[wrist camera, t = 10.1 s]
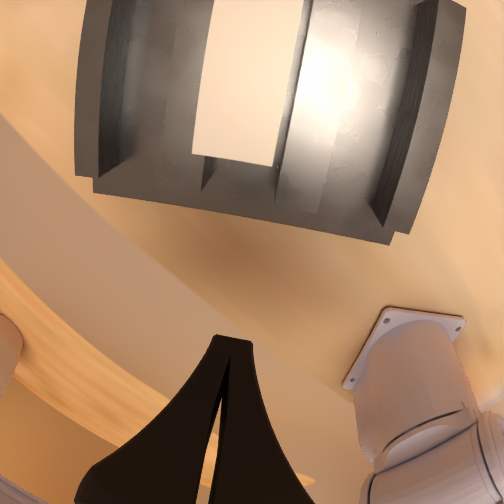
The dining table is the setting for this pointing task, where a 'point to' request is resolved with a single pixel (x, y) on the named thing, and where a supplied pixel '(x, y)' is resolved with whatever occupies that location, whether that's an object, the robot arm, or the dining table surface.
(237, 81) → the tall beige block
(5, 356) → the cup
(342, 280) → the dining table surface
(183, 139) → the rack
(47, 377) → the dining table surface
